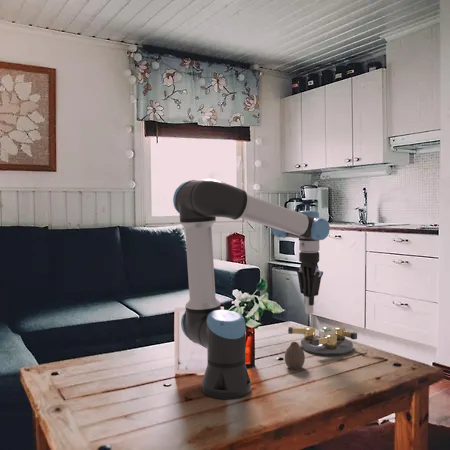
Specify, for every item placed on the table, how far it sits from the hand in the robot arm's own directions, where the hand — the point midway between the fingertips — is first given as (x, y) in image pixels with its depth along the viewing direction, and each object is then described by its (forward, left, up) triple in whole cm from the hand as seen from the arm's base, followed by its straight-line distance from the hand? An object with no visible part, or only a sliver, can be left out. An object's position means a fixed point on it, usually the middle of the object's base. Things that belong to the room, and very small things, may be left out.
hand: (309, 313), depth 180 cm
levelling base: (+1, -10, -15) cm, 18 cm away
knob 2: (-5, -3, -13) cm, 14 cm away
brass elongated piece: (-2, -17, -13) cm, 21 cm away
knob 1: (+9, -4, -13) cm, 16 cm away
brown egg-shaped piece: (-10, +15, -15) cm, 24 cm away
